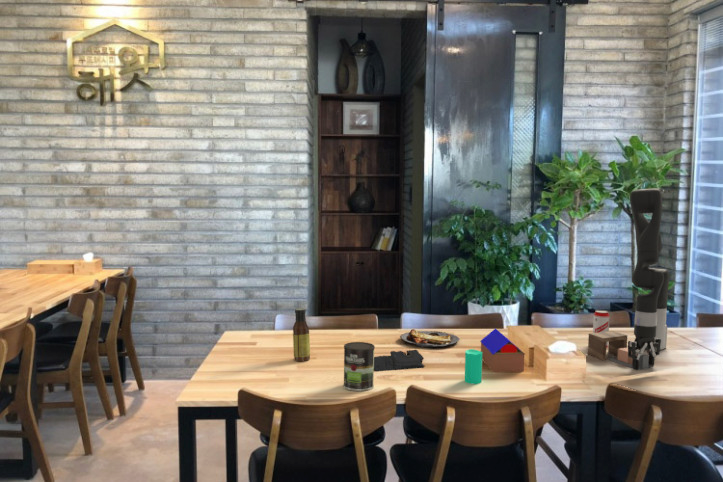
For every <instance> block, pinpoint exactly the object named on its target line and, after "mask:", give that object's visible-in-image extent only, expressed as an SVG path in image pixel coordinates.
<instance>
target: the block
mask: <svg viewBox="0 0 723 482" xmlns="http://www.w3.org/2000/svg"><path fill="white" fill-rule="evenodd" d="M631 354H632V352H631ZM637 354H638V353H637ZM637 354H636V356H637ZM617 356H618V360H620V361H623V362H626V363H629V364H632V362H633V359H632V358H631V357H628V347H627V348H620V349H618V355H617Z"/></svg>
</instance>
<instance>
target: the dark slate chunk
mask: <svg viewBox="0 0 723 482" xmlns="http://www.w3.org/2000/svg"><path fill="white" fill-rule="evenodd" d="M424 359H425V358H424V356H423V355H422V354H421V353H419V350H417V349H411V350H410V349H409V350H406V352H404V351H402V350H398V351H395V350H391V351H390V355H379V356H377V355H376V356H374V372H386V371H387V372H389V371H401V370H412V369H413V370H414V369H423V368H425V367H426V365H424V364H423V361H424Z"/></svg>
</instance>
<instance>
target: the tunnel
mask: <svg viewBox="0 0 723 482" xmlns="http://www.w3.org/2000/svg"><path fill="white" fill-rule="evenodd" d="M587 338H588V339H587V340H588V342H587V343H588V346H587V356H590V357H592V358H596V359H598V360H601V361H606V359H607V353H609V354H611V355H615V356H618V349H620V348H628V335H627V334H624V333H620V332H616V331H613V330H609V331H607V332H598V333H593V332H591V333H588V337H587ZM607 342H608V347H607V348H606V345H607Z"/></svg>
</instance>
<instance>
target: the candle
mask: <svg viewBox="0 0 723 482" xmlns="http://www.w3.org/2000/svg"><path fill="white" fill-rule="evenodd" d="M464 353H465V354H464V355H465V356H464V382H465V383H467V384H471V385H472V384H473V385H478V384H482V381H483V380H482V378H483V377H482V375H483V359H482V352H481V350H477V349H475V348H472V349H471V348H470V349H466V350H465V352H464Z"/></svg>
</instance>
